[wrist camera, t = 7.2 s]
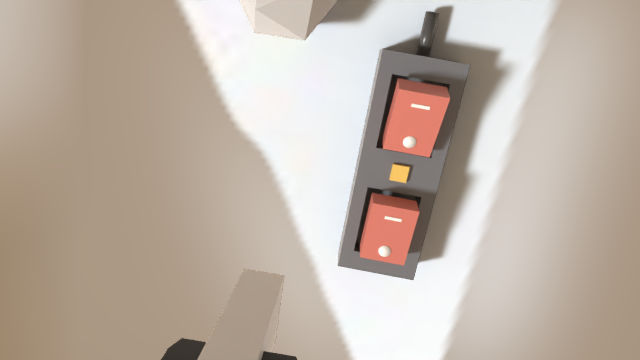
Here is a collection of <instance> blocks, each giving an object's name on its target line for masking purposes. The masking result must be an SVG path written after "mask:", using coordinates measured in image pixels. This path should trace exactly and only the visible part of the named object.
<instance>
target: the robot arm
mask: <svg viewBox="0 0 640 360" xmlns="http://www.w3.org/2000/svg"><path fill="white" fill-rule="evenodd" d="M283 282H284V275H279V274H273V273H267V272H261V271H255V270H249V269H244V271H243V273H242V274H241V276H240V279H239V280H238V282H237V284H236V286H235V288H234V290H233V292H232V294H231V296H230V298H229V300H228V301H227V303H226V305H225V307H224V309H223V311H222V313H221V315H220V317H219V319H218V321H217V323H216V325H215V326H214V329H213V330H212V332H211V334H210V336H209V338H208V340H207V342H201V341H195V340H189V339H183V338H182V339H180V340H179V341H178V342H176V343H175V344H174V345H172V346H171V347H169V348H168V350H167V351H166V353H165V354H164V356H163V358H162V359H161V360H297V358H296V357H294V356H288V355H283V354H277V353H272V351H273V347H274V344H275V340H276V335H277V326H278V319H279V312H280V305H281V297H282V290H283Z"/></svg>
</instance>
